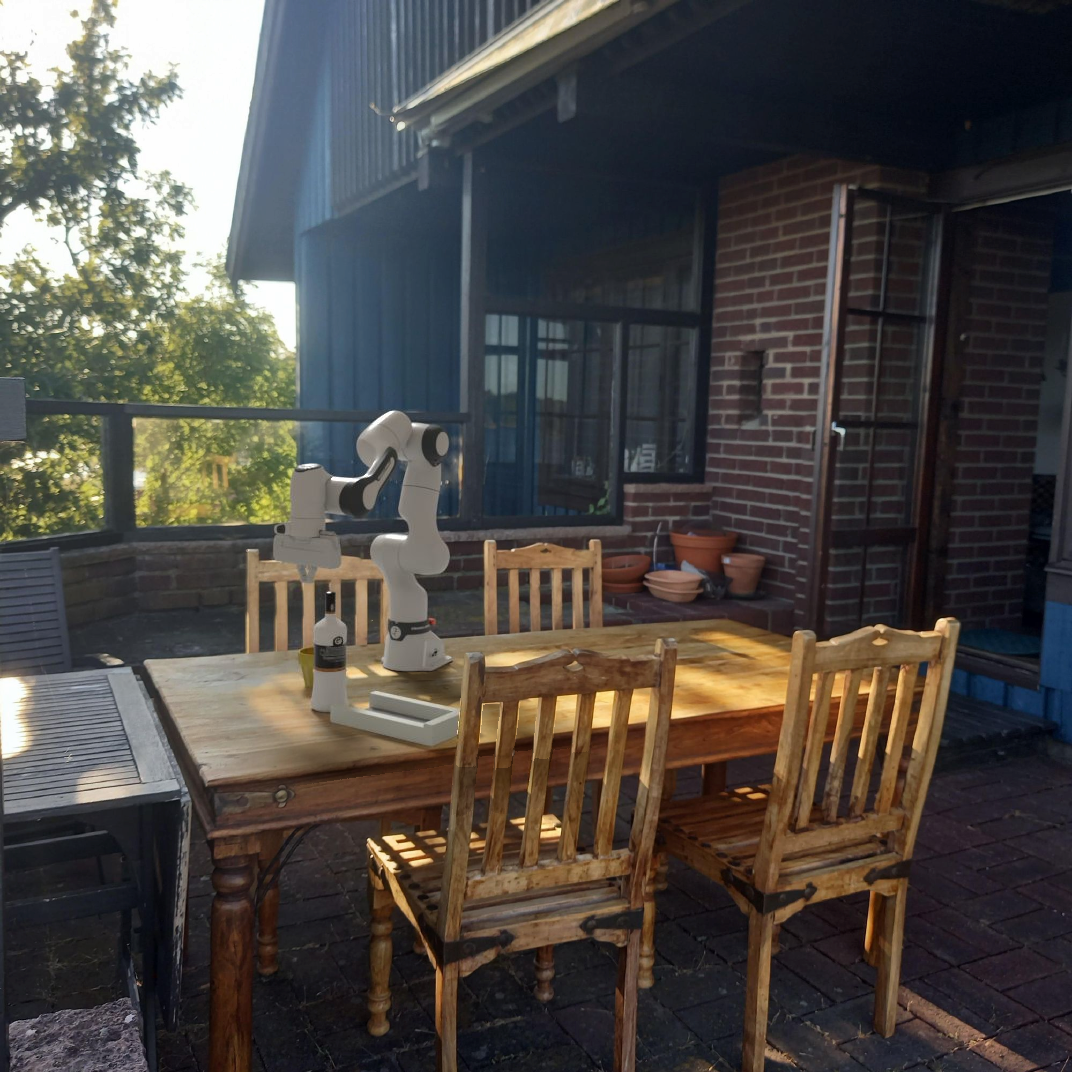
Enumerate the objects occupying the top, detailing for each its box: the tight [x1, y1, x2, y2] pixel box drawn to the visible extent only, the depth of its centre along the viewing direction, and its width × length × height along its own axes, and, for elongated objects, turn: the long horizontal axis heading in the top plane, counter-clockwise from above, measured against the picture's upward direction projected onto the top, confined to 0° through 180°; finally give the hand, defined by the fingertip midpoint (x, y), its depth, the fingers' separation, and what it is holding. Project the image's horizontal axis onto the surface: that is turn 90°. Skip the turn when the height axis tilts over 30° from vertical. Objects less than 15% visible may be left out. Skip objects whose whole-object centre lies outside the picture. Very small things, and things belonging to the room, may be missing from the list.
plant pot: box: [297, 646, 314, 689], centre depth 283 cm, size 10×10×10 cm
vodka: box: [310, 590, 349, 714], centre depth 262 cm, size 9×9×30 cm
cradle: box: [329, 690, 461, 747], centre depth 251 cm, size 17×30×5 cm, turn 59°
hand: (306, 582), depth 264 cm, fingers closed
